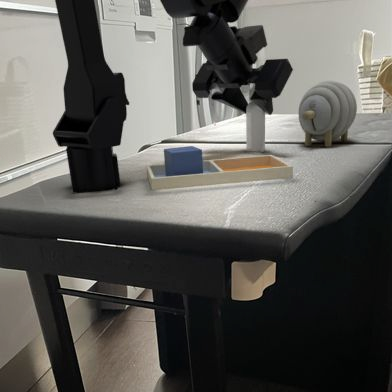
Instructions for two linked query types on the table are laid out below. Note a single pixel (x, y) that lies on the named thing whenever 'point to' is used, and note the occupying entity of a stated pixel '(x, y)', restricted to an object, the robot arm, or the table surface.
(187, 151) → the slate block
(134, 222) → the table surface
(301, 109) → the toy sheep
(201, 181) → the sorting tray
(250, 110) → the eye dropper bottle
